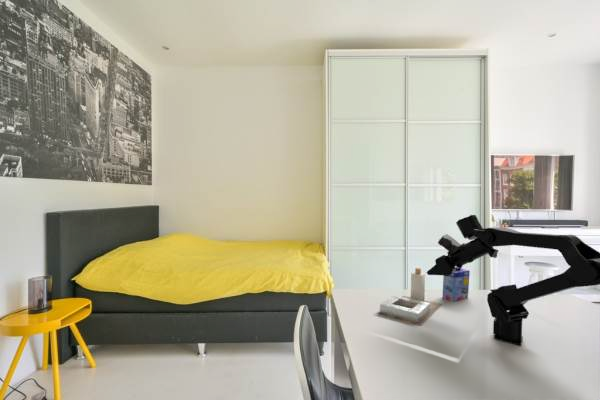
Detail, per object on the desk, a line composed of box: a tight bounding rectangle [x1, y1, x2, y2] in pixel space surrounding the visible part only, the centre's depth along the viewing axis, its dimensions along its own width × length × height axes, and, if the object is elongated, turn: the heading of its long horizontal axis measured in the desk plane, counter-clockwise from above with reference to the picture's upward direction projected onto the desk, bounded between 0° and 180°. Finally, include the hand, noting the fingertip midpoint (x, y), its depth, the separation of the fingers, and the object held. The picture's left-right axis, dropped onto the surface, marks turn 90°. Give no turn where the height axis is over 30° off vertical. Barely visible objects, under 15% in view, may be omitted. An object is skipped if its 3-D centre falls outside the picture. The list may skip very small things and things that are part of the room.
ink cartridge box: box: [441, 266, 471, 302], centre depth 124 cm, size 10×6×14 cm, turn 120°
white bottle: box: [410, 267, 426, 302], centre depth 118 cm, size 5×5×13 cm
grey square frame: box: [379, 294, 430, 323], centre depth 108 cm, size 13×13×3 cm
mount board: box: [376, 295, 443, 327], centre depth 111 cm, size 15×25×1 cm, turn 141°
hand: (432, 270), depth 111 cm, fingers open, 9 cm apart
